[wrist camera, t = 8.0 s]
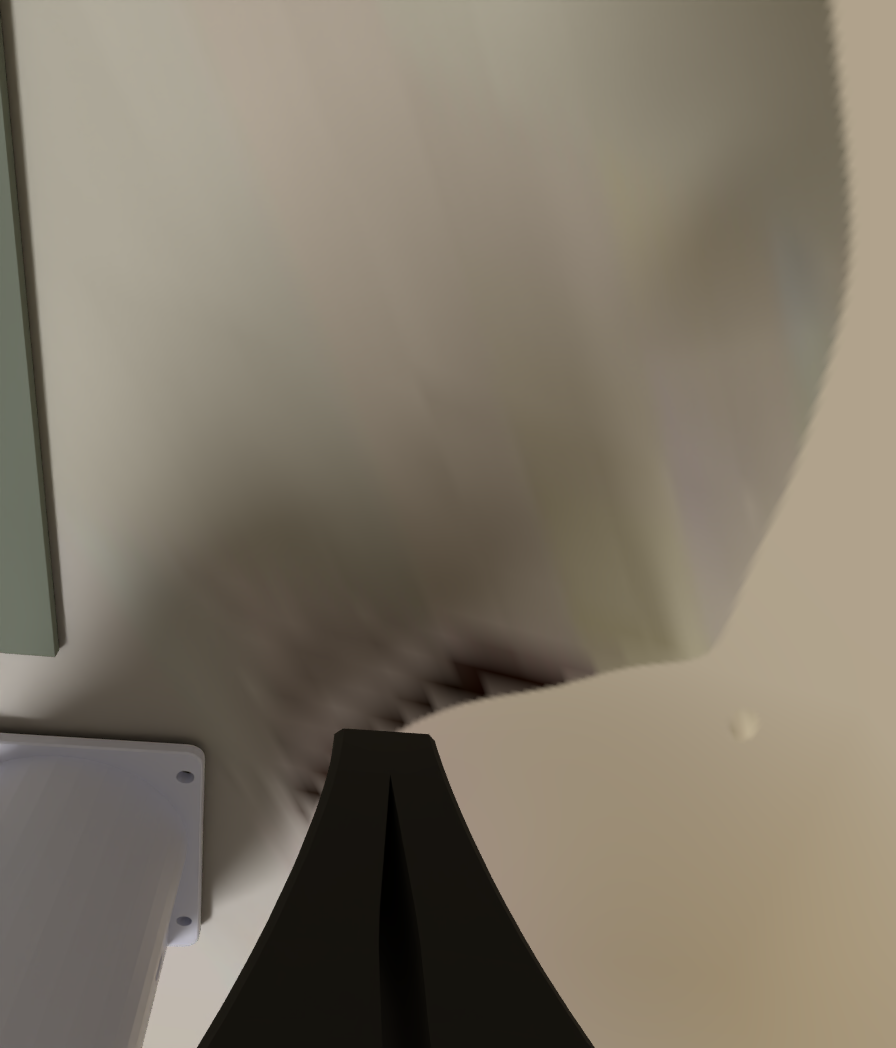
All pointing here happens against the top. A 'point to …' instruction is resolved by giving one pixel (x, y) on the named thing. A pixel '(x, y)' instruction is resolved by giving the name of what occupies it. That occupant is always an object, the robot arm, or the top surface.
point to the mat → (19, 439)
